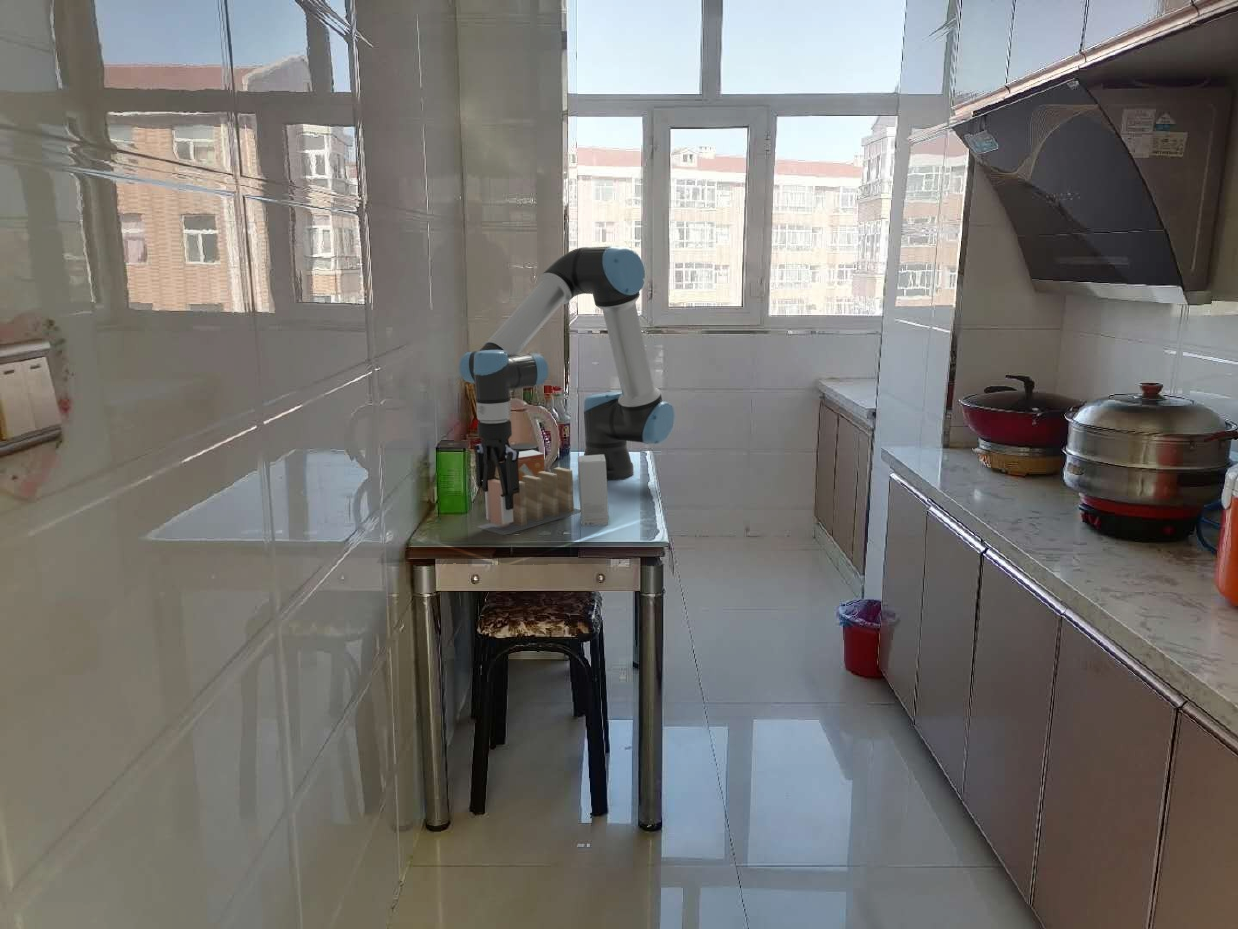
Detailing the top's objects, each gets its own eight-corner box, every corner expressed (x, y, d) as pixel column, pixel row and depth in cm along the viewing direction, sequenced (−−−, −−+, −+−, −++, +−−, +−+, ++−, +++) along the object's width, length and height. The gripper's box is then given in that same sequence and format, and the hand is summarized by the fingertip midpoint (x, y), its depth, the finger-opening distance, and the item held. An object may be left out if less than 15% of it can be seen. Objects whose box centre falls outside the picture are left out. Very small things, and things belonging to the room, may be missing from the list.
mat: (556, 506, 232) (556, 504, 231) (584, 513, 225) (584, 510, 225) (476, 529, 214) (476, 526, 214) (504, 537, 207) (504, 535, 207)
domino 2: (512, 520, 218) (510, 479, 216) (526, 524, 215) (524, 482, 213) (507, 521, 217) (505, 480, 215) (521, 525, 214) (519, 483, 212)
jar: (547, 490, 248) (545, 446, 245) (521, 495, 243) (518, 450, 240) (529, 484, 255) (527, 441, 252) (504, 489, 250) (501, 445, 247)
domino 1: (495, 520, 215) (493, 478, 212) (509, 524, 211) (507, 482, 209) (490, 522, 214) (487, 480, 211) (504, 526, 210) (501, 483, 208)
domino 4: (544, 511, 225) (542, 471, 223) (558, 514, 222) (556, 474, 220) (539, 512, 224) (537, 472, 222) (553, 516, 221) (551, 475, 219)
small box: (518, 509, 230) (515, 457, 227) (506, 503, 235) (503, 453, 232) (546, 503, 235) (544, 453, 232) (534, 498, 240) (532, 449, 237)
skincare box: (609, 527, 213) (606, 461, 209) (580, 528, 213) (577, 462, 209) (607, 517, 221) (605, 453, 218) (579, 518, 221) (577, 454, 217)
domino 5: (559, 506, 229) (558, 467, 227) (573, 510, 226) (572, 470, 223) (555, 508, 228) (553, 468, 226) (569, 511, 224) (567, 471, 222)
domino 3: (529, 515, 222) (527, 475, 220) (543, 519, 219) (541, 478, 216) (523, 517, 221) (521, 476, 219) (537, 520, 217) (535, 479, 215)
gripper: (456, 418, 211) (462, 517, 216) (506, 427, 198) (512, 531, 204) (482, 413, 216) (488, 510, 221) (533, 422, 204) (538, 524, 209)
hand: (499, 520), depth 212 cm, fingers closed on domino 1, 5 cm apart
